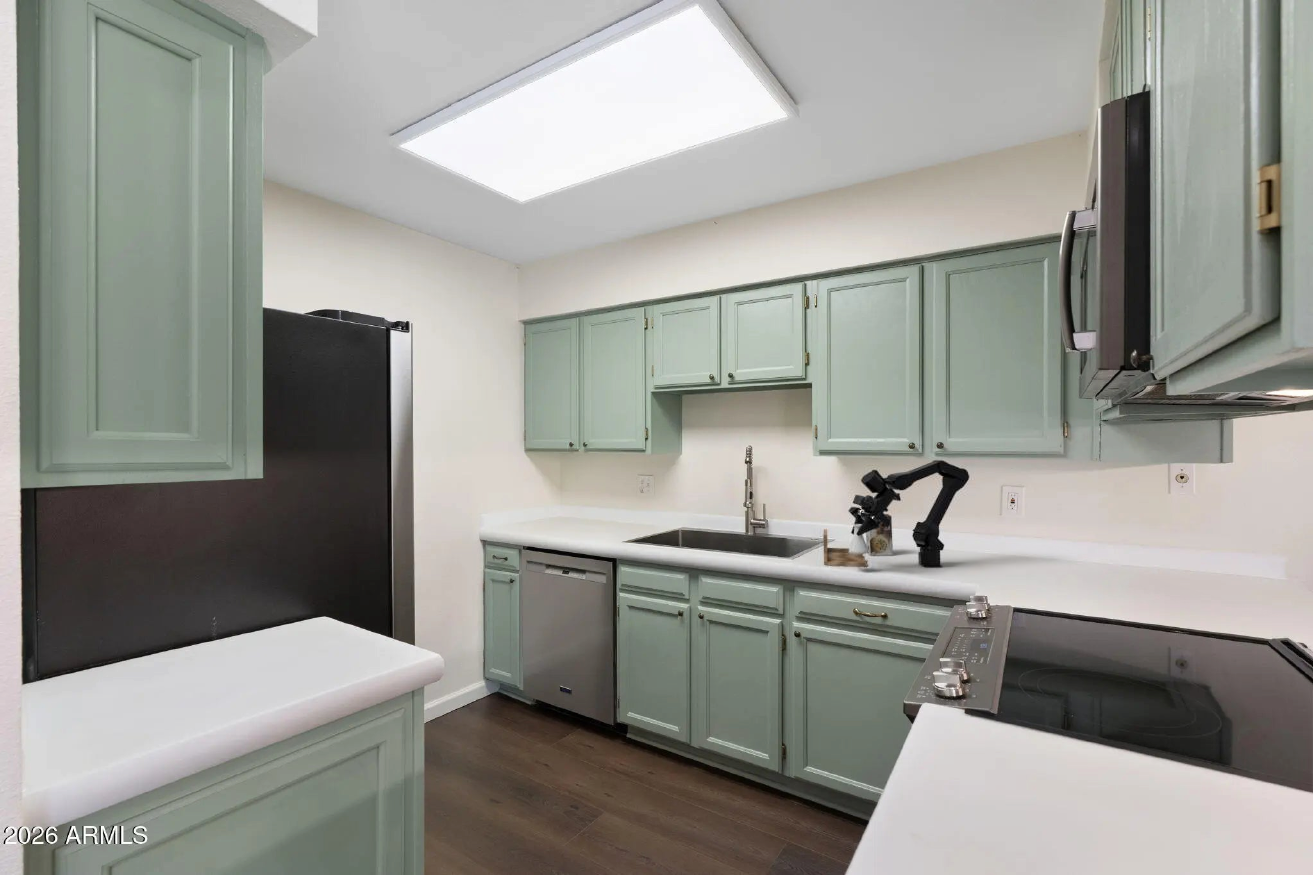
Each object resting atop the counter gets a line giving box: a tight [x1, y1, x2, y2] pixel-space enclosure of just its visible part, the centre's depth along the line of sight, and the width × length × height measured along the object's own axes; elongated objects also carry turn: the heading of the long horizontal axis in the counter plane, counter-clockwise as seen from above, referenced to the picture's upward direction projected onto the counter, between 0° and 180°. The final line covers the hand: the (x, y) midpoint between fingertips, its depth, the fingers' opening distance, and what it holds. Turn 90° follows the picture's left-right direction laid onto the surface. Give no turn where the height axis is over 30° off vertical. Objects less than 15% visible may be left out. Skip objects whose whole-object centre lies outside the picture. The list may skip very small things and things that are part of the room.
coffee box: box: [865, 513, 894, 557], centre depth 243 cm, size 9×6×16 cm
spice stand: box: [822, 529, 867, 568], centre depth 229 cm, size 15×14×12 cm
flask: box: [849, 523, 869, 555], centre depth 214 cm, size 7×7×10 cm
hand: (854, 534), depth 214 cm, fingers closed on flask, 3 cm apart
